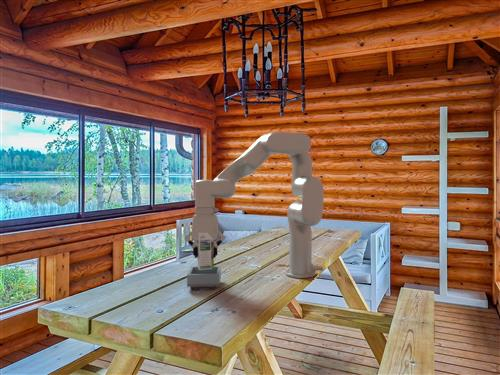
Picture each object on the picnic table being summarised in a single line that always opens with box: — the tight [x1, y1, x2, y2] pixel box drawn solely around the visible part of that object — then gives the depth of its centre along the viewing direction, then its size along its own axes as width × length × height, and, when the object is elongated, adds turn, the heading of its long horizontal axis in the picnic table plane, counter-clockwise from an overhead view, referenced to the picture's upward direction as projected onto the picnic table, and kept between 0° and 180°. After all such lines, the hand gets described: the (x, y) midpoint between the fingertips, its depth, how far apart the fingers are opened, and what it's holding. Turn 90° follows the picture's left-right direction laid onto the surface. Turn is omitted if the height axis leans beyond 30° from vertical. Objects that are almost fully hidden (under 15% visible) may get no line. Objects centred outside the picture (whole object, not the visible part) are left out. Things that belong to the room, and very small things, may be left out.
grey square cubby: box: [186, 265, 222, 291], centre depth 147 cm, size 12×12×6 cm
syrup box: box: [196, 233, 215, 270], centre depth 146 cm, size 6×6×14 cm
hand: (205, 256), depth 146 cm, fingers closed on syrup box, 6 cm apart
